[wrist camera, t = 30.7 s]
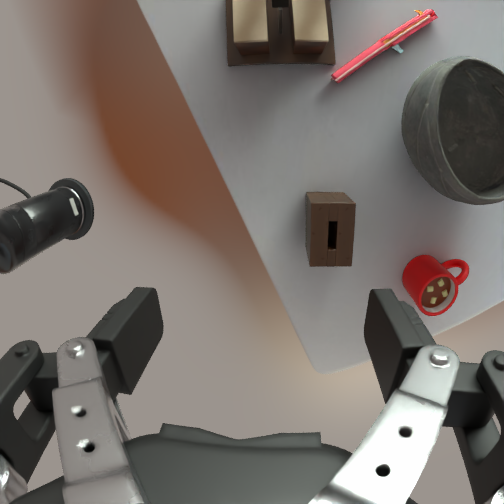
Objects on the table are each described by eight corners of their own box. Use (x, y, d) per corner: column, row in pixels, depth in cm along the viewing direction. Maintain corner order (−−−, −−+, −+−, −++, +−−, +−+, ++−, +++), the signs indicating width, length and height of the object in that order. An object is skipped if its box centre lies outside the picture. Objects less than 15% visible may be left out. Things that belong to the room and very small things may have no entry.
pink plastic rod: (436, 26, 35) (423, 4, 32) (444, 26, 33) (430, 3, 31) (341, 93, 42) (323, 70, 39) (346, 95, 40) (328, 70, 38)
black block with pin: (274, 34, 38) (270, -15, 22) (272, 17, 37) (268, -36, 21) (287, 33, 37) (290, -15, 22) (286, 17, 36) (288, -36, 21)
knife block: (305, 246, 50) (309, 266, 43) (306, 192, 47) (311, 202, 40) (341, 246, 50) (351, 266, 42) (344, 192, 47) (355, 203, 39)
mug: (460, 270, 49) (480, 288, 42) (409, 301, 52) (425, 324, 45) (450, 235, 47) (471, 251, 40) (396, 268, 50) (412, 289, 43)
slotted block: (228, 66, 41) (218, 53, 33) (226, -3, 36) (216, -25, 29) (334, 65, 39) (344, 52, 32) (327, -5, 35) (335, -27, 27)
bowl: (502, 137, 39) (556, 145, 25) (439, 216, 46) (486, 246, 32) (431, 46, 36) (478, 23, 22) (358, 126, 43) (391, 122, 29)
